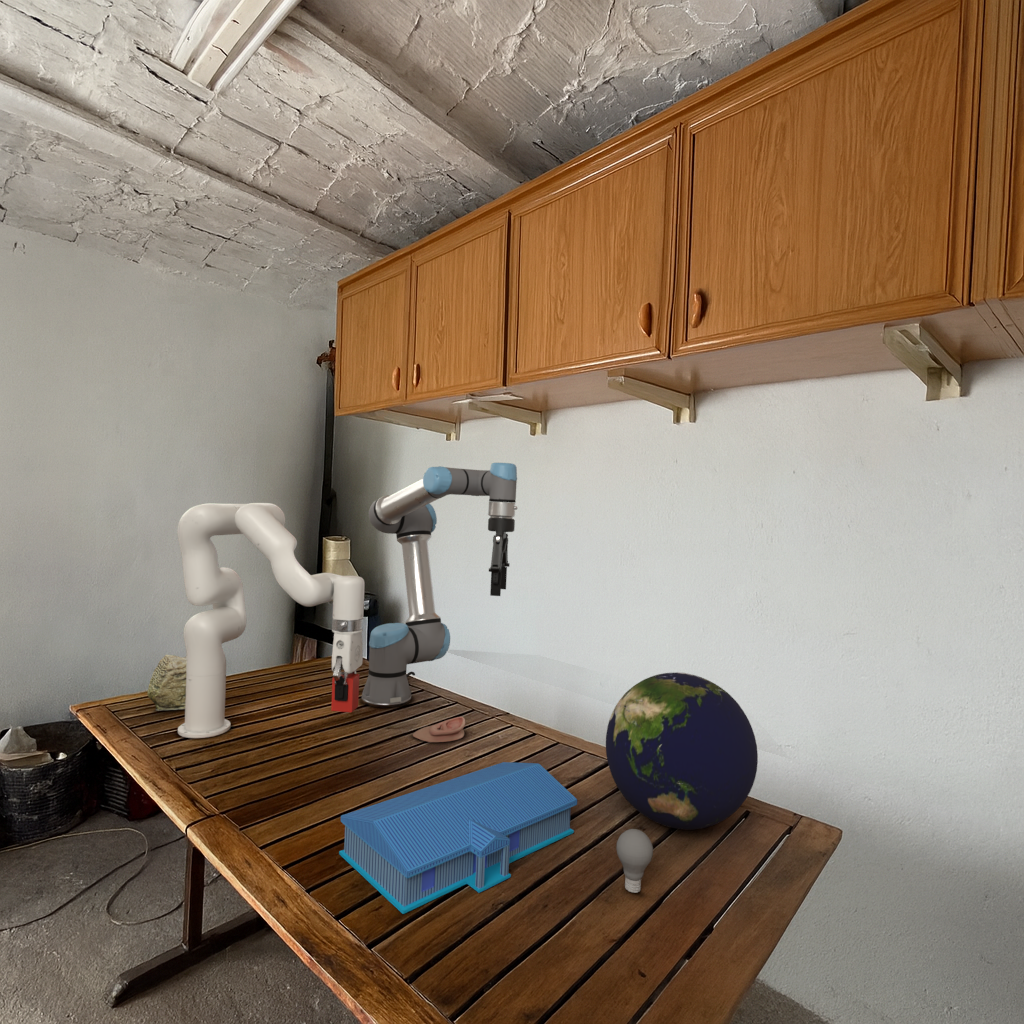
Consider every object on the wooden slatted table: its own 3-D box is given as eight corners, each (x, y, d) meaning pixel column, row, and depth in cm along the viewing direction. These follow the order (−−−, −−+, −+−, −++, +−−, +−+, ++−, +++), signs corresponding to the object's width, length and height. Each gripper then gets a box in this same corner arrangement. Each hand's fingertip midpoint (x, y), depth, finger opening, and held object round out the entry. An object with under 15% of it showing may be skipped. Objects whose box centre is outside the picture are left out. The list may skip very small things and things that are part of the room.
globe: (585, 837, 122) (592, 682, 121) (619, 777, 149) (625, 650, 149) (751, 879, 110) (760, 708, 110) (755, 805, 138) (762, 668, 138)
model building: (414, 925, 95) (417, 859, 95) (337, 852, 113) (340, 797, 113) (586, 839, 121) (589, 787, 121) (502, 791, 139) (504, 746, 139)
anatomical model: (408, 724, 167) (423, 710, 178) (408, 739, 167) (423, 724, 178) (457, 730, 164) (469, 716, 175) (456, 745, 164) (468, 730, 175)
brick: (331, 710, 158) (332, 677, 158) (338, 705, 162) (339, 672, 162) (351, 712, 157) (353, 678, 157) (358, 706, 162) (359, 673, 162)
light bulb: (610, 879, 108) (613, 822, 108) (644, 879, 109) (647, 822, 109) (619, 902, 102) (622, 840, 102) (655, 901, 103) (658, 840, 103)
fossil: (144, 707, 182) (145, 655, 182) (212, 696, 194) (213, 647, 194) (151, 716, 175) (153, 662, 175) (221, 703, 188) (223, 653, 188)
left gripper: (350, 633, 151) (347, 709, 151) (373, 619, 168) (370, 688, 168) (319, 631, 151) (317, 706, 152) (345, 618, 168) (343, 686, 169)
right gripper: (510, 519, 166) (506, 599, 167) (518, 517, 191) (515, 587, 192) (482, 517, 167) (478, 598, 168) (494, 516, 192) (491, 585, 192)
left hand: (345, 696), depth 160 cm, fingers closed on brick, 4 cm apart
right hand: (498, 592), depth 180 cm, fingers open, 13 cm apart
